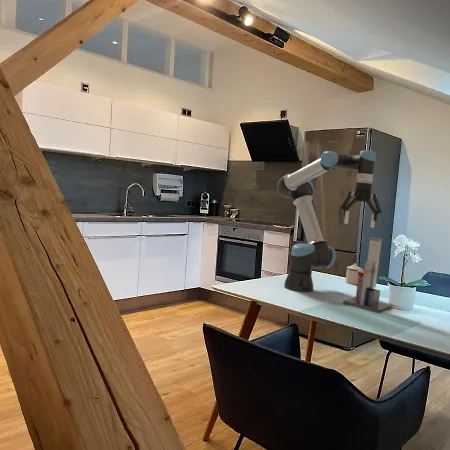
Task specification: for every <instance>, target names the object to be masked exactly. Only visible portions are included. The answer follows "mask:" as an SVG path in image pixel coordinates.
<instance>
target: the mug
mask: <svg viewBox="0 0 450 450" xmlns="http://www.w3.org/2000/svg"><path fill="white" fill-rule="evenodd" d="M363 277H364V269H362V270H358V278H357V285H356V292H355V297H358V289H359V288H362V284H363ZM368 288H370V287H368ZM372 289H374V288H372Z"/></svg>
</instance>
